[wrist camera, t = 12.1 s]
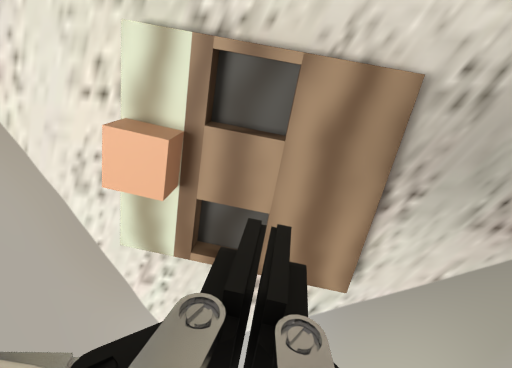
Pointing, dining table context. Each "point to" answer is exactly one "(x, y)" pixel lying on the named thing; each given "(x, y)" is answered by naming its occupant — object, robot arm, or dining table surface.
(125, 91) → the board
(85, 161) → the dining table surface
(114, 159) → the terracotta block
